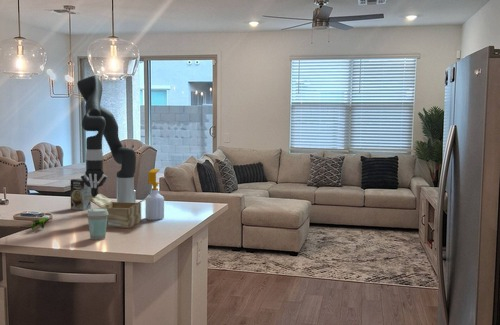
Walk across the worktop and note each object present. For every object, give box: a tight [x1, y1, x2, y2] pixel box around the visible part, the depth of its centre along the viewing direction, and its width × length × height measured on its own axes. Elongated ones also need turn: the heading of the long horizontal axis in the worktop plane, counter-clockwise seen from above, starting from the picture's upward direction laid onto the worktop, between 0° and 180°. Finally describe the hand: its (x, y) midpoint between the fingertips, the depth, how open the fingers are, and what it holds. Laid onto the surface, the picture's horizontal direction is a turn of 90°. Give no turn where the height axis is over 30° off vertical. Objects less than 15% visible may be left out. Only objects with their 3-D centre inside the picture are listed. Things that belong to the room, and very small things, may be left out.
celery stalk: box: [28, 215, 51, 232], centre depth 230 cm, size 6×7×30 cm
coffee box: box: [70, 178, 92, 211], centre depth 273 cm, size 9×6×16 cm
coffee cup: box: [86, 207, 108, 241], centre depth 208 cm, size 8×8×12 cm
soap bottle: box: [144, 168, 165, 221], centre depth 250 cm, size 9×9×25 cm
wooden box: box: [99, 201, 142, 229], centre depth 236 cm, size 17×14×9 cm
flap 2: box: [129, 195, 153, 208], centre depth 235 cm, size 15×1×7 cm
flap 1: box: [87, 193, 113, 208], centre depth 237 cm, size 15×1×7 cm
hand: (94, 195), depth 237 cm, fingers closed
